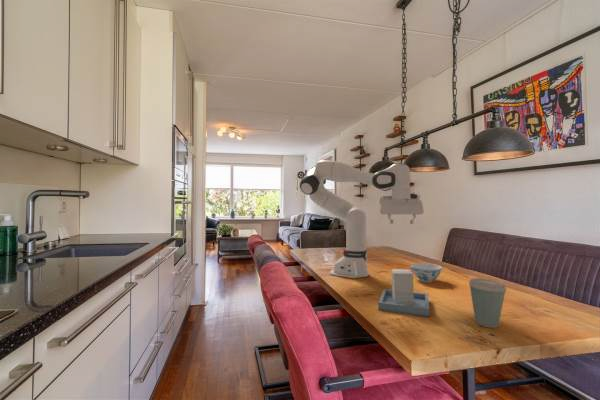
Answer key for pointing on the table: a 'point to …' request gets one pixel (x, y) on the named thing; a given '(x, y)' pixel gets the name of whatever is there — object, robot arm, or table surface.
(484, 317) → the disposable coffee cup
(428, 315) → the tray
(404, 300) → the supplement box
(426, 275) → the chinaware
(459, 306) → the table surface
